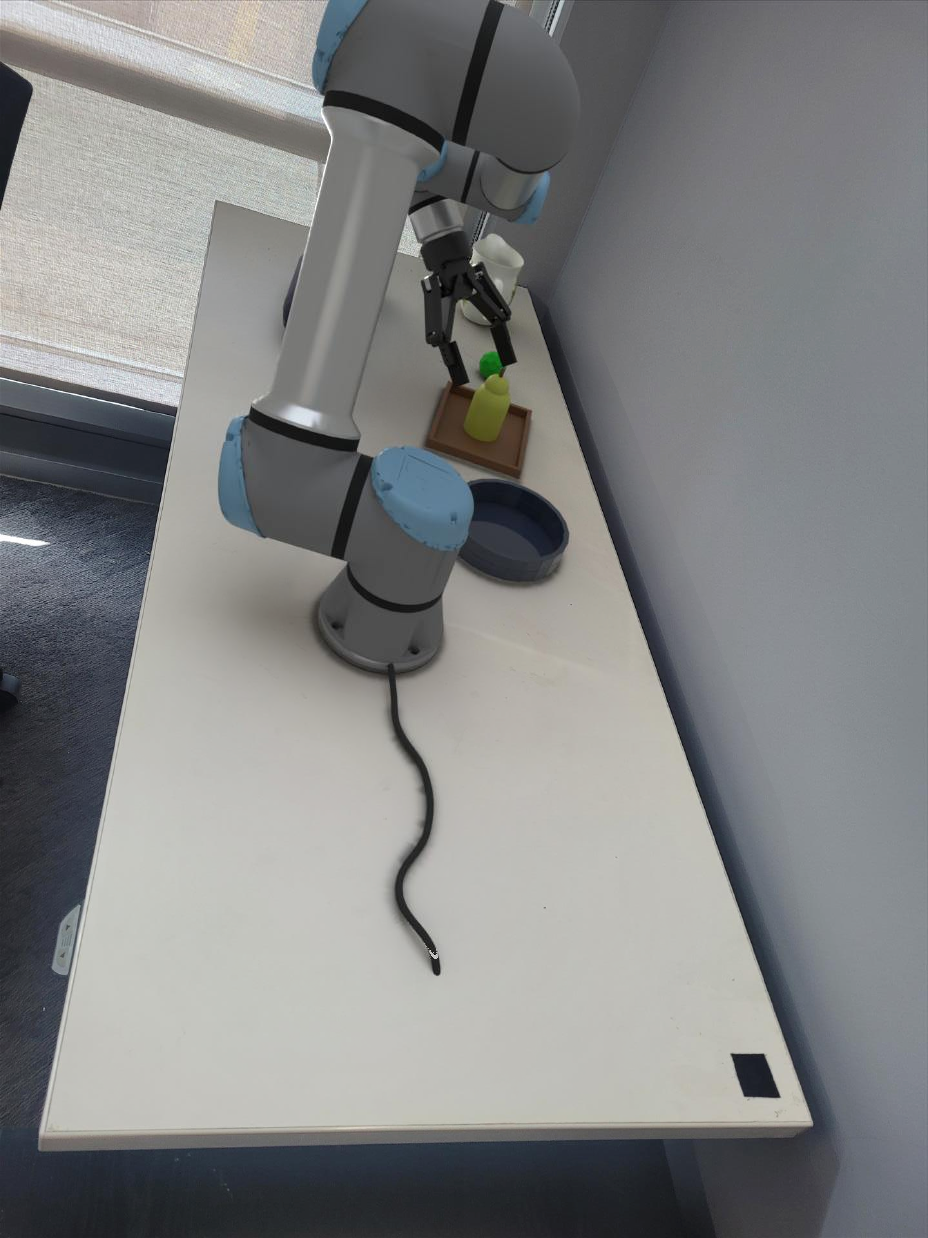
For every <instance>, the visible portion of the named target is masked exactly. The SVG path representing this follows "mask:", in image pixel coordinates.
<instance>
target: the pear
mask: <svg viewBox="0 0 928 1238" xmlns="http://www.w3.org/2000/svg"><path fill="white" fill-rule="evenodd" d="M505 372H506V370H505V368H501V370H500V373H499V374H494V375H491V376H489V377H488V378H486V379H485V381H484V382H483V383H481V384H480V385H479V386H478V387H477V388H476V389H475V390H476V391H475V394H474V396H473V399H472V402H471V405H470V408H469V411H468V414H467V416H466V419H465V422H464V430H465V431H466V433H467V434H468V435H470V436H471V437H473V438H475V439H477V440H480V441H484V442H491V441H494V440H496V439H497V437H498V434H499V431H500V429H501V426H502V424H503V421H504V419H505V416H506V413H507V411H508V408H509V405H510V403H511V395H510V392H509V390H510V384H509V381H508V379H507V378H506V376H504V375H505Z"/></svg>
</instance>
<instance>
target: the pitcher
mask: <svg viewBox="0 0 928 1238" xmlns="http://www.w3.org/2000/svg"><path fill="white" fill-rule="evenodd" d="M481 261H482V262H483V263H484V265H485V268H486V270H487V273H488V275H489V277H490V278H491V280H492V281H493V283H494V285H495V286H496V288H497V289H498V291H499V292H500V294H501V296H502V297H503V299H504V300H505V302H506V303H507V305H508V306H509V307H510V305H511V304H512V302H513V300H514V298H515V295H516V292H517V288H518V277H519V276H518V275H519V274H520V272H521V270H522V268H523V267H524V264H525V261H524V258H523V257H522V255H521V254H520V253H519V251H517V250H516V249H514V248H513V247H512V246H510V245H509V244H508V243H507V242H506V241H505V240H504V239H503V237H501V236H500V235H498V234H497V233H492V232H491V233H489V234H488V235H487V236H486V237H485V238H482V239H479V240H477V241H475V242H474V243H473V248H472V255H471V259H469V262H470V264H471V266H472V265H474V264H476V263H479V262H481ZM473 289H474V288H473ZM459 301H460V302H459V303H460V307H461V310H462V314H463V316H464V318H466V319H468V320H469V321H470V322H473V323H475V324H478V325H480V326H481V325H482V326H490V325H491V326H492V324H491V323H490V322H489V321H488V320H487V319H486V318H485V317H484V316H483V315H482V314H481V313H480V312H479V310H478V309H477V308H476V307H475V306H474V305H473V304H472V303H471V302H470V301H466V300H465V299H463V300H459ZM501 311H503V310H502V309H501Z"/></svg>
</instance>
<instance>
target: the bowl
mask: <svg viewBox="0 0 928 1238" xmlns="http://www.w3.org/2000/svg"><path fill="white" fill-rule="evenodd" d="M466 482H467V484H468V486H469V488H470V490H471V493H472V496H473V501H474V511H473V516H472V519H471V522H470V525H469V529H468V537H467V539H466V541H465V543H464V544H463V545H462V547H461V548H460V551H459V553H458V556H459V557H460V558H461V559H462V560H464V561H465V562H466V563H467V564H469V565H470V566H471V567H473V568H475V569H476V570H478V571H480V572H482V573H484V574H486V575H488V576H490V577H493V578H496V579H500V580H502V581H503V580H504V581H509V582H517V583H518V582H519V583H526V582H527V583H529V582H534V581H539V580H541V579H545V578H546V577H547V576H549V575H550V574H551V573H553V572H554V571H555V570H556V567H557V566H558V564H559V562H560V561H561V559H562V557H563V555H564V553H565V551H566V549H567V547H568V545H569V543H570V531H569V527H568V523H567V521H566V519H565V518H564V516H563V515H562V513H561V512H560V510H558V509H557V508H556V506H555V505H554V504H553V503H552V502H551V501H549V500H548V499H547V498H546V497H544V496H542V495H541V494H540V493H538V492H536V491H535V490H533V489H531V488H530V487H527V486H525V485H522V484H520V483H516V482H513V481H511V480H505V479H501V478H478V479H473V480H470V481H466Z"/></svg>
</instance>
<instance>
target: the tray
mask: <svg viewBox="0 0 928 1238" xmlns="http://www.w3.org/2000/svg"><path fill="white" fill-rule="evenodd" d="M476 390H477V389H473V388H470V387H467V386H464V385H461V386H458V387H455V388H454V386H453V383H452V380H447V383H446V386H445V389H444V391H443V394H442V398H441V400H440V403H439V406H438V409H437V412H436V414H435V418H434V420H433V423H432V426H431V429H430V432H429V435H428V438H427V441H426V443H425V447H426V448H429V449H432V450H434V451H437V452H440V453H443V454H446V455H448V456H452V457H454V458H458V459H461V460H463V461H465V462H469V463H471V464H475V465H478V466H479V467H480V466H481V467H483V468H486V469H489V470H492V471H494V472H497V473H500V474H503V475H506V476H508V477H512V478H515V479H520V476H521V475H522V470H523V465H524V460H525V455H526V448H527V442H528V438H529V431H530V427H531V419H532V415H533V410H532V409H530V408H527V407H524V406H521V405H518V404H515V403H513V402H510V405H509V408H508V411H507V413H506V416H505V419H504V421H503V424H502V426H501V429H500V431H499V434H498V437H497V439H496V440H494V441H491V442H484V441H480V440H477V439H475V438H473V437H471V436H470V435H468V434H467V433H466V431H465V430H464V422H465V419H466V416H467V414H468V411H469V408H470V405H471V402H472V399H473V396H474V394H475V391H476Z"/></svg>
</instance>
